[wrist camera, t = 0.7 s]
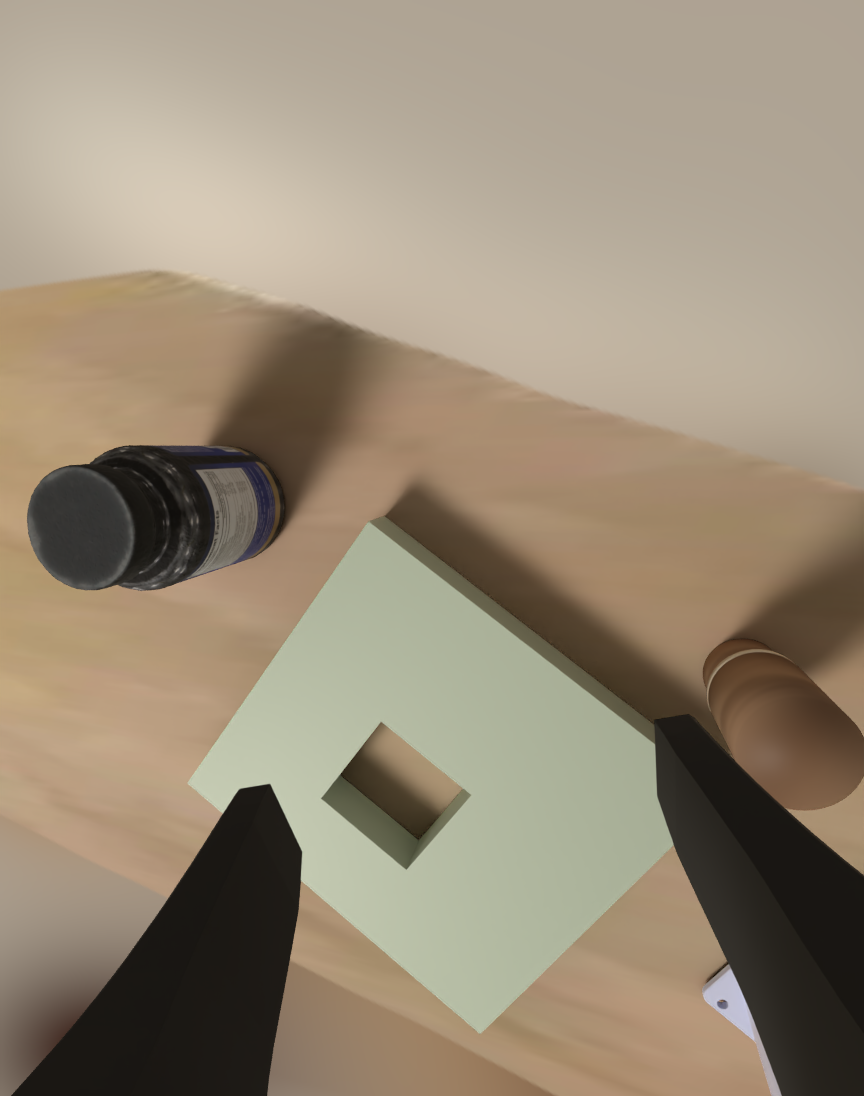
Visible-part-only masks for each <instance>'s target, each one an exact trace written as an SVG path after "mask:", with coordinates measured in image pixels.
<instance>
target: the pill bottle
mask: <svg viewBox="0 0 864 1096" xmlns="http://www.w3.org/2000/svg"><path fill="white" fill-rule="evenodd" d="M283 517H284V497H283V493H282V489H281V485H280V483H279V481H278V479H277V478H276V476H275V474H274V473H273V471H272V470H271V469H270V467H268V466H267V465H266V464H265V463H264V462H263V461H262V460H261V459H260V458H258V457H257V456H256V455H255V454H253V453H251V452H250V451H247V450H244V449H242V448H238V447H233V446H142V445H139V446H131V445H129V446H122V447H118V448H114V449H112V450H109V451H107V452H104V453H103V454H102V455H100V456H99V457H97V458H95V460H94V461H92V462H91V463H90V464H83V465H69V466H66V467H62V468H59V469H56V470H54V471H52V472H51V473H49V474H48V475H47V476H45V477H44V478H43V479H42V480H41V482H40V483H39V484H38V486H37V487H36V488H35V490H34V493H33V494H32V496H31V500H30V503H29V508H28V514H27V523H28V534H29V537H30V541H31V545H32V547H33V550H34V552H35V554H36V556H37V558H38V559H39V561H40V562H41V563H42V565H43V566H44V567H45V569H46V570H47V571H48V572H49V573H50V574H51V575H52V576H53V577H55V578H56V579H57V580H59V581H61V582H62V583H64V584H66V585H68V586H70V587H73V588H76V589H82V590H100V589H104V588H108V587H111V586H114V585H119V586H122V587H125V588H129V589H134V590H140V591H142V590H156V589H162V588H165V587H167V586H172V585H174V584H176V583H179V582H182V581H185V580H188V579H191V578H194V577H197V576H200V575H203V574H206V573H209V572H212V571H215V570H218V569H220V568H223V567H226V566H229V565H232V564H235V563H238V562H241V561H244V560H247V559H250V558H253V557H255V556H257V555H258V554H260V553H262V552H263V551H264V550H266V549H267V548H268V547H269V546H270V545H271V543H272V542H273V541H274V539H275V538H276V536H277V534H278V532H279V531H280V528H281V526H282V522H283Z"/></svg>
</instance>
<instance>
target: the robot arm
mask: <svg viewBox="0 0 864 1096" xmlns="http://www.w3.org/2000/svg"><path fill="white" fill-rule="evenodd" d="M654 728H655V755H656V782H657V797H658V800H659V803H660V806H661V809H662V812H663V815H664V818H665V821H666V824H667V827H668V830H669V832H670V835H671V838H672V841H673V844H674V846H675V849H676V852H677V854H678V857H679V859H680V861H681V863H682V865H683V867H684V870H685V872H686V874H687V876H688V878H689V880H690V883H691V885H692V887H693V889H694V891H695V893H696V895H697V898H698V900H699V902H700V904H701V906H702V908H703V910H704V912H705V915H706V917H707V919H708V921H709V923H710V925H711V927H712V929H713V932H714V934H715V936H716V938H717V940H718V942H719V944H720V946H721V949H722V951H723V953H724V955H725V957H726V959H727V961H728V963H729V964H728V965H727V966H726V967H725V968H723V969H722V970H721V971H720V972H719V973H718V974H717V975H715V976H714V977H713V978H712V979H711V980H710V981H709V982H707V983H706V984H705V985H704V987H703V989H702V992H703V997H704V999H705V1001H706V1002H707V1003H708V1004H709V1005H711V1006H712V1007H713V1008H714V1009H716V1010H717V1011H718V1012H719V1013H720V1014H722V1015H723V1016H724V1017H725V1018H727V1019H728V1020H729V1021H730V1022H731V1023H733V1024H734V1025H735V1026H736V1027H738V1028H739V1029H740V1030H741V1031H743V1032H744V1033H745V1034H746V1035H747V1036H749V1037H750V1038H751V1039H752V1040H754V1041H755V1042H756V1045H757V1048H758V1052H759V1055H760V1058H761V1062H762V1065H763V1069H764V1072H765V1075H766V1079H767V1082H768V1086H769V1089H770V1092H771V1096H864V875H863V874H861V873H860V872H859V871H858V870H856V869H855V868H854V867H853V866H851V865H850V864H849V863H848V862H846V861H845V860H844V859H843V858H842V857H840V856H839V855H838V854H837V853H836V852H834V851H833V850H832V849H831V848H830V847H828V846H827V845H826V844H825V843H824V842H823V841H821V840H820V839H819V838H818V837H817V836H815V835H814V834H813V833H812V832H811V831H810V830H809V829H807V828H806V827H805V826H804V825H803V824H802V823H801V822H799V821H798V820H797V819H796V818H795V817H794V816H793V815H792V814H791V813H789V812H788V811H787V810H786V809H785V808H784V807H783V806H782V805H781V804H780V803H779V802H777V801H776V800H775V799H774V798H773V797H772V796H771V795H770V794H769V793H768V792H767V791H766V790H764V789H763V788H762V787H761V786H760V785H759V784H758V783H757V782H756V781H755V780H754V779H753V778H752V777H751V776H750V775H749V774H748V773H747V772H746V771H745V770H744V769H743V768H742V767H741V766H740V765H739V764H738V763H737V762H736V761H735V760H734V759H733V758H732V757H731V756H730V755H729V754H728V753H727V752H726V751H725V750H724V749H723V748H722V747H721V746H720V745H719V744H718V743H717V742H716V741H715V740H714V739H713V738H712V737H711V736H710V734H709V733H708V732H707V731H706V730H705V729H704V728H703V727H702V726H701V725H700V724H699V723H698V721H697V720H696V719H695V718H693V717H692V716H690V715H689V714H687V715H681V716H675V717H669V718H662V719H656V720H654ZM301 868H302V850H301V848H300V846H299V844H298V842H297V839H296V837H295V835H294V833H293V831H292V829H291V827H290V825H289V822H288V820H287V818H286V816H285V814H284V812H283V810H282V808H281V806H280V803H279V801H278V799H277V797H276V795H275V793H274V791H273V789H272V786H271V784H265V785H259V786H253V787H247V788H241V789H239V790H238V791H237V793H236V794H235V796H234V797H233V799H232V800H231V802H230V803H229V805H228V806H227V808H226V810H225V811H224V813H223V814H222V816H221V818H220V819H219V821H218V822H217V824H216V826H215V827H214V829H213V830H212V832H211V833H210V835H209V837H208V838H207V840H206V841H205V843H204V845H203V846H202V848H201V849H200V851H199V852H198V854H197V856H196V857H195V859H194V860H193V862H192V863H191V865H190V866H189V868H188V869H187V871H186V872H185V874H184V875H183V877H182V878H181V880H180V882H179V883H178V885H177V886H176V888H175V889H174V891H173V892H172V894H171V895H170V897H169V898H168V900H167V901H166V903H165V904H164V906H163V907H162V908H161V910H160V911H159V913H158V914H157V916H156V917H155V919H154V920H153V921H152V923H151V924H150V926H149V927H148V928H147V930H146V931H145V933H144V934H143V935H142V937H141V938H140V939H139V941H138V942H137V944H136V945H135V946H134V948H133V949H132V951H131V952H130V953H129V955H128V956H127V958H126V959H125V960H124V962H123V963H122V964H121V966H120V967H119V968H118V970H117V971H116V973H115V974H114V975H113V976H112V977H111V979H110V980H109V981H108V983H107V984H106V985H105V987H104V988H103V989H102V990H101V992H100V993H99V994H98V996H97V997H96V998H95V999H94V1000H93V1002H92V1003H91V1004H90V1005H89V1007H88V1008H87V1009H86V1010H85V1012H84V1013H83V1014H82V1015H81V1016H80V1018H79V1019H78V1020H77V1021H76V1023H75V1024H74V1025H73V1026H72V1027H71V1029H70V1030H69V1031H68V1032H67V1033H66V1035H65V1036H64V1037H63V1038H62V1039H61V1040H60V1042H59V1043H58V1044H57V1045H56V1046H55V1047H54V1048H53V1050H52V1051H51V1052H50V1053H49V1054H48V1055H47V1056H46V1058H45V1059H44V1060H43V1061H42V1062H41V1063H40V1064H39V1065H38V1066H37V1067H36V1069H35V1070H34V1071H33V1072H32V1073H31V1074H30V1075H29V1077H28V1078H27V1079H26V1080H25V1081H24V1082H23V1083H22V1084H21V1085H20V1086H19V1088H18V1089H17V1090H16V1091H15V1092H14V1093H13V1094H12V1095H11V1096H267V1091H268V1081H269V1074H270V1067H271V1061H272V1054H273V1047H274V1042H275V1037H276V1031H277V1026H278V1020H279V1014H280V1010H281V1004H282V999H283V993H284V988H285V982H286V977H287V972H288V966H289V961H290V955H291V950H292V944H293V939H294V933H295V927H296V922H297V916H298V910H299V897H300V885H301ZM719 1000H725V1002H719Z"/></svg>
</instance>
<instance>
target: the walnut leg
mask: <svg viewBox="0 0 864 1096" xmlns="http://www.w3.org/2000/svg"><path fill="white" fill-rule="evenodd" d="M703 680H704V683H705V686H706V688H707V690H706V698H707V703H708V706H709V709H710V711H711V713H712V715H713V717H714V719H715V721H716V723H717V725H718V727H719V729H720V731H721V733H722V735H723V737H724V739H725V741H726V743H727V745H728V747H729V749H730V751H731V753H732V755H733V757H734V759H735V761H736V762H737V763H738V764H739V765H740V766H741V767H742V768H743V769H744V770H745V771H746V772H747V773H748V774H749V775H750V776H751V777H752V778H753V779H754V780H755V781H756V782H757V783H758V784H759V785H760V786H761V787H762V788H763V789H764V790H766V791H767V792H768V793H769V794H770V795H771V796H772V797H773V798H774V799H775V800H776V801H777V802H779V803H780V804H781V805H782V806H783V807H784V808H788V809H793V810H816V809H822V808H825V807H828V806H831V805H834V804H836V803H838V802H840V801H841V800H843V799H845V798H846V797H847V796H848V795H850V794H851V793H852V792H853V791H854V790H855V789H856V788H857V786H858V785H859V783H860V782H861V780H862V778H863V776H864V737H863V735H862V733H861V731H860V730H859V728H858V727H857V725H856V724H855V723H854V722H853V721H852V720H851V719H850V718H849V717H848V716H847V715H846V714H845V713H844V712H843V711H842V710H841V709H840V708H839V707H838V706H837V705H836V704H835V703H834V702H833V701H832V700H831V699H830V698H829V697H828V696H827V695H826V694H825V693H824V692H823V691H822V690H821V689H820V688H819V687H818V686H817V685H816V684H815V683H814V682H813V681H812V680H811V679H810V678H809V677H808V676H807V675H806V674H805V673H804V672H803V671H802V670H801V669H800V668H799V667H798V666H797V665H796V664H795V663H794V662H793V661H791V660H790V659H788V658H787V657H785V656H783V655H781V654H779V653H776V652H773V651H772V650H771V649H770V648H769V647H767V646H766V645H764V644H762V643H760V642H758V641H755V640H750V639H734V640H730V641H727V642H724V643H722V644H721V645H719V646H717V647H716V648H715V649H714V650H713V651H712V652H711V653H710V654H709V656H708V657H707V659H706V661H705V663H704V667H703Z"/></svg>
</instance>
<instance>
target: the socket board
mask: <svg viewBox="0 0 864 1096" xmlns="http://www.w3.org/2000/svg"><path fill="white" fill-rule="evenodd" d="M380 722H382V723H383V724H385V725H386V726H387V727H388V728H390V729H391V730H392V731H393V732H394V733H396V734H397V735H398V736H399V737H401V738H402V739H403V740H404V741H406V742H407V743H408V744H409V745H410V746H412V747H413V748H414V749H415V750H417V751H418V752H419V753H420V754H422V755H423V756H424V757H425V758H426V759H428V760H429V761H430V762H431V763H433V764H434V765H435V766H436V767H437V768H439V769H440V770H441V771H442V772H444V773H445V774H446V775H447V776H449V777H450V778H451V779H452V780H453V781H455V782H456V783H457V784H458V785H460V786H461V787H462V788H463V790H462V791H461V792H460V793H459V794H458V795H457V797H456V798H455V799H454V800H453V801H452V802H451V803H450V805H449V806H448V807H447V808H446V809H445V810H444V812H443V813H442V814H441V815H440V816H439V817H438V819H437V820H436V821H435V822H434V823H433V824H432V826H431V827H430V828H429V829H428V830H427V831H426V833H425V834H424V835H423V836H422V837H421V838H420V839H419V840H418V839H416V838H415V837H414V836H413V835H412V834H410V833H409V832H408V831H407V830H406V829H404V828H403V827H402V826H401V825H400V824H398V823H397V822H396V821H395V820H394V819H392V818H391V817H390V816H389V815H387V814H386V813H385V812H384V811H383V810H381V809H380V808H379V807H378V806H377V805H375V804H374V803H373V802H372V801H371V800H369V799H368V798H367V797H366V796H365V795H363V794H362V793H361V792H360V791H359V790H357V789H356V788H355V787H354V786H353V785H351V784H350V783H349V782H348V781H347V780H345V779H344V778H343V777H342V776H341V775H340V774H341V772H342V771H343V770H344V768H345V767H346V766H347V765H348V763H349V762H350V761H351V760H352V758H353V757H354V756H355V754H356V753H357V752H358V751H359V749H360V748H361V747H362V745H363V744H364V743H365V742H366V740H367V739H368V738H369V736H370V735H371V734H372V733H373V731H374V730H375V729H376V727H377V726H378V725H379V724H380ZM188 784H189V785H190V786H191V787H192V788H194V789H195V790H196V791H197V792H198V793H199V794H201V795H202V796H203V797H204V798H205V799H206V800H208V801H209V802H210V803H211V804H212V805H213V806H215V807H216V808H217V809H218V810H219V811H220V812H222V813H224V811H225V810H226V808H227V806H228V805H229V803H230V802H231V800H232V799H233V797H234V796H235V794H236V793H237V791H238V790H239V789H241V788H247V787H253V786H259V785H265V784H271V786H272V789H273V791H274V793H275V795H276V797H277V799H278V801H279V803H280V806H281V808H282V810H283V812H284V814H285V816H286V818H287V820H288V822H289V825H290V827H291V829H292V831H293V833H294V835H295V837H296V839H297V842H298V844H299V846H300V848H301V850H302V868H301V881H302V882H303V883H304V884H306V885H307V886H308V887H309V888H310V889H311V890H313V891H314V892H315V893H316V894H317V895H318V896H320V897H321V898H322V899H323V900H324V901H325V902H327V903H328V904H329V905H330V906H331V907H332V908H334V909H335V910H336V911H337V912H338V913H339V914H341V915H342V916H343V917H344V918H345V919H346V920H348V921H349V922H350V923H351V924H352V925H353V926H355V927H356V928H357V929H358V930H359V931H360V932H362V933H363V934H364V935H365V936H366V937H367V938H369V939H370V940H371V941H372V942H373V943H374V944H376V945H377V946H378V947H379V948H380V949H381V950H383V951H384V952H385V953H386V954H387V955H388V956H390V957H391V958H392V959H393V960H394V961H395V962H397V963H398V964H399V965H400V966H401V967H402V968H404V969H405V970H406V971H407V972H408V973H409V974H411V975H412V976H413V977H414V978H415V979H417V980H418V981H419V982H420V983H421V984H422V985H424V986H425V987H426V988H427V989H428V990H429V991H431V992H432V993H433V994H434V995H435V996H436V997H438V998H439V999H440V1000H441V1001H442V1002H443V1003H445V1004H446V1005H447V1006H448V1007H449V1008H450V1009H452V1010H453V1011H454V1012H455V1013H456V1014H457V1015H459V1016H460V1017H461V1018H462V1019H463V1020H464V1021H466V1022H467V1023H468V1024H469V1025H470V1026H471V1027H473V1028H474V1029H475V1030H476V1031H477V1032H478V1033H480V1034H481V1033H482V1032H483V1031H484V1030H485V1029H486V1028H487V1027H488V1026H489V1025H490V1024H491V1023H492V1022H493V1021H494V1020H495V1019H496V1018H497V1017H498V1016H499V1015H500V1014H501V1013H502V1012H503V1011H504V1010H505V1009H506V1008H507V1007H508V1006H509V1005H510V1004H511V1003H512V1002H513V1001H514V1000H516V999H517V998H518V997H519V996H520V995H521V994H522V993H523V992H524V991H525V990H526V989H527V988H528V987H529V986H530V985H531V984H532V983H533V982H534V981H535V980H536V979H537V978H538V977H539V976H540V975H541V974H542V973H543V972H544V971H545V970H546V969H547V968H548V967H549V966H550V965H551V964H552V963H553V962H554V961H555V960H556V959H557V958H559V957H560V956H561V955H562V954H563V953H564V952H565V951H566V950H567V949H568V948H569V947H570V946H571V945H572V944H573V943H574V942H575V941H576V940H577V939H578V938H579V937H580V936H581V935H582V934H583V933H584V932H585V931H586V930H587V929H588V928H589V927H590V926H591V925H592V924H593V923H594V922H595V921H596V920H597V919H598V918H599V917H600V916H602V915H603V914H604V913H605V912H606V911H607V910H608V909H609V908H610V907H611V906H612V905H613V904H614V903H615V902H616V901H617V900H618V899H619V898H620V897H621V896H622V895H623V894H624V893H625V892H626V891H627V890H628V889H629V888H630V887H631V886H632V885H633V884H634V883H635V882H636V881H637V880H638V879H639V878H640V877H641V876H642V875H643V874H644V873H646V872H647V871H648V870H649V869H650V868H651V867H652V866H653V865H654V864H655V863H656V862H657V861H658V860H659V859H660V858H661V857H662V856H663V855H664V854H665V853H666V852H667V851H668V850H669V849H670V848H671V847H672V846H673V845H674V844H673V841H672V838H671V835H670V832H669V830H668V827H667V824H666V821H665V818H664V815H663V812H662V809H661V806H660V803H659V800H658V797H657V782H656V755H655V728H654V724H652V723H651V722H650V721H648V720H647V719H646V718H645V717H643V716H642V715H641V714H639V713H638V712H637V711H636V710H634V709H633V708H632V707H630V706H629V705H628V704H627V703H625V702H624V701H623V700H621V699H620V698H619V697H617V696H616V695H615V694H614V693H612V692H611V691H610V690H608V689H607V688H606V687H605V686H603V685H602V684H601V683H599V682H598V681H597V680H596V679H594V678H593V677H592V676H590V675H589V674H588V673H586V672H585V671H584V670H583V669H581V668H580V667H579V666H577V665H576V664H575V663H574V662H572V661H571V660H570V659H568V658H567V657H566V656H565V655H563V654H562V653H561V652H559V651H558V650H557V649H556V648H554V647H553V646H552V645H550V644H549V643H548V642H546V641H545V640H544V639H543V638H541V637H540V636H539V635H537V634H536V633H535V632H534V631H532V630H531V629H530V628H528V627H527V626H526V625H525V624H523V623H522V622H521V621H519V620H518V619H517V618H515V617H514V616H513V615H512V614H510V613H509V612H508V611H506V610H505V609H504V608H503V607H501V606H500V605H499V604H497V603H496V602H495V601H494V600H492V599H491V598H490V597H488V596H487V595H486V594H485V593H483V592H482V591H481V590H479V589H478V588H477V587H475V586H474V585H473V584H472V583H470V582H469V581H468V580H466V579H465V578H464V577H463V576H461V575H460V574H459V573H457V572H456V571H455V570H454V569H452V568H451V567H450V566H448V565H447V564H446V563H444V562H443V561H442V560H441V559H439V558H438V557H437V556H435V555H434V554H433V553H432V552H430V551H429V550H428V549H426V548H425V547H424V546H423V545H421V544H420V543H419V542H417V541H416V540H415V539H413V538H412V537H411V536H410V535H408V534H407V533H406V532H404V531H403V530H402V529H401V528H399V527H398V526H397V525H395V524H394V523H393V522H392V521H390V520H389V519H388V518H386V517H385V516H383V517H380V518H377V519H374V520H371V521H368V523H367V524H366V526H365V527H364V529H363V530H362V531H361V533H360V534H359V536H358V537H357V539H356V540H355V542H354V543H353V544H352V546H351V547H350V549H349V550H348V552H347V553H346V555H345V556H344V558H343V559H342V560H341V562H340V563H339V565H338V566H337V568H336V569H335V571H334V572H333V573H332V575H331V576H330V578H329V579H328V581H327V582H326V584H325V585H324V586H323V588H322V589H321V591H320V592H319V594H318V595H317V597H316V598H315V599H314V601H313V602H312V604H311V605H310V607H309V608H308V610H307V611H306V612H305V614H304V615H303V617H302V618H301V620H300V621H299V623H298V624H297V625H296V627H295V628H294V630H293V631H292V633H291V634H290V636H289V637H288V638H287V640H286V641H285V643H284V644H283V646H282V647H281V649H280V650H279V652H278V653H277V654H276V656H275V657H274V659H273V660H272V662H271V663H270V665H269V666H268V667H267V669H266V670H265V672H264V673H263V675H262V676H261V678H260V679H259V680H258V682H257V683H256V685H255V686H254V688H253V689H252V691H251V692H250V693H249V695H248V696H247V698H246V699H245V701H244V702H243V704H242V705H241V706H240V708H239V709H238V711H237V712H236V714H235V715H234V717H233V718H232V719H231V721H230V722H229V724H228V725H227V727H226V728H225V730H224V731H223V732H222V734H221V735H220V737H219V738H218V740H217V741H216V743H215V744H214V745H213V747H212V748H211V750H210V751H209V753H208V754H207V756H206V757H205V759H204V760H203V761H202V763H201V764H200V766H199V767H198V769H197V770H196V772H195V773H194V774H193V776H192V777H191V779H190V780H189V782H188Z"/></svg>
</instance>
